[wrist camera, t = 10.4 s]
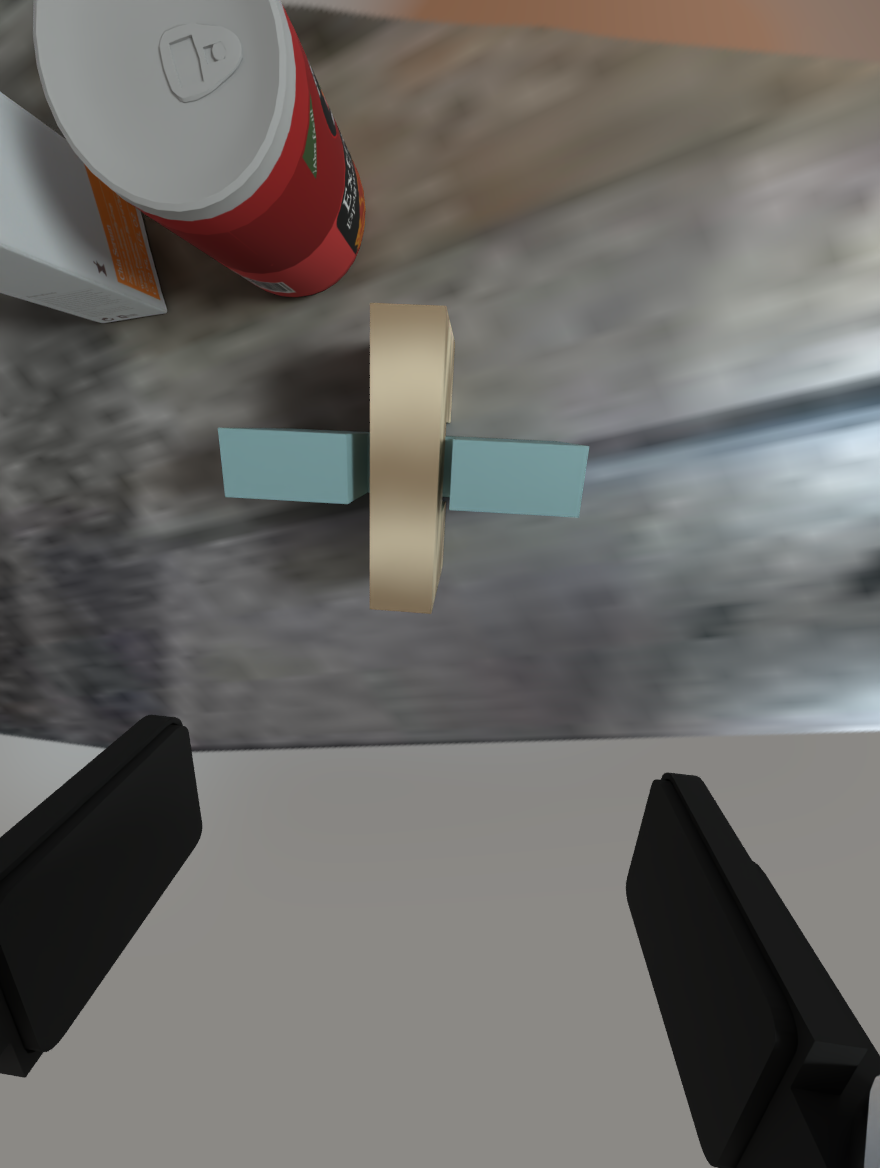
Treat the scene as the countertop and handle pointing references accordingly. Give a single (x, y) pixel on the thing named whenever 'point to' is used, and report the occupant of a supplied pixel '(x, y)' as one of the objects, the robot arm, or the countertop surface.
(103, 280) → the skincare box
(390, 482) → the beige flat block
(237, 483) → the light blue block
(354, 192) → the canned food
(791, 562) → the countertop surface
